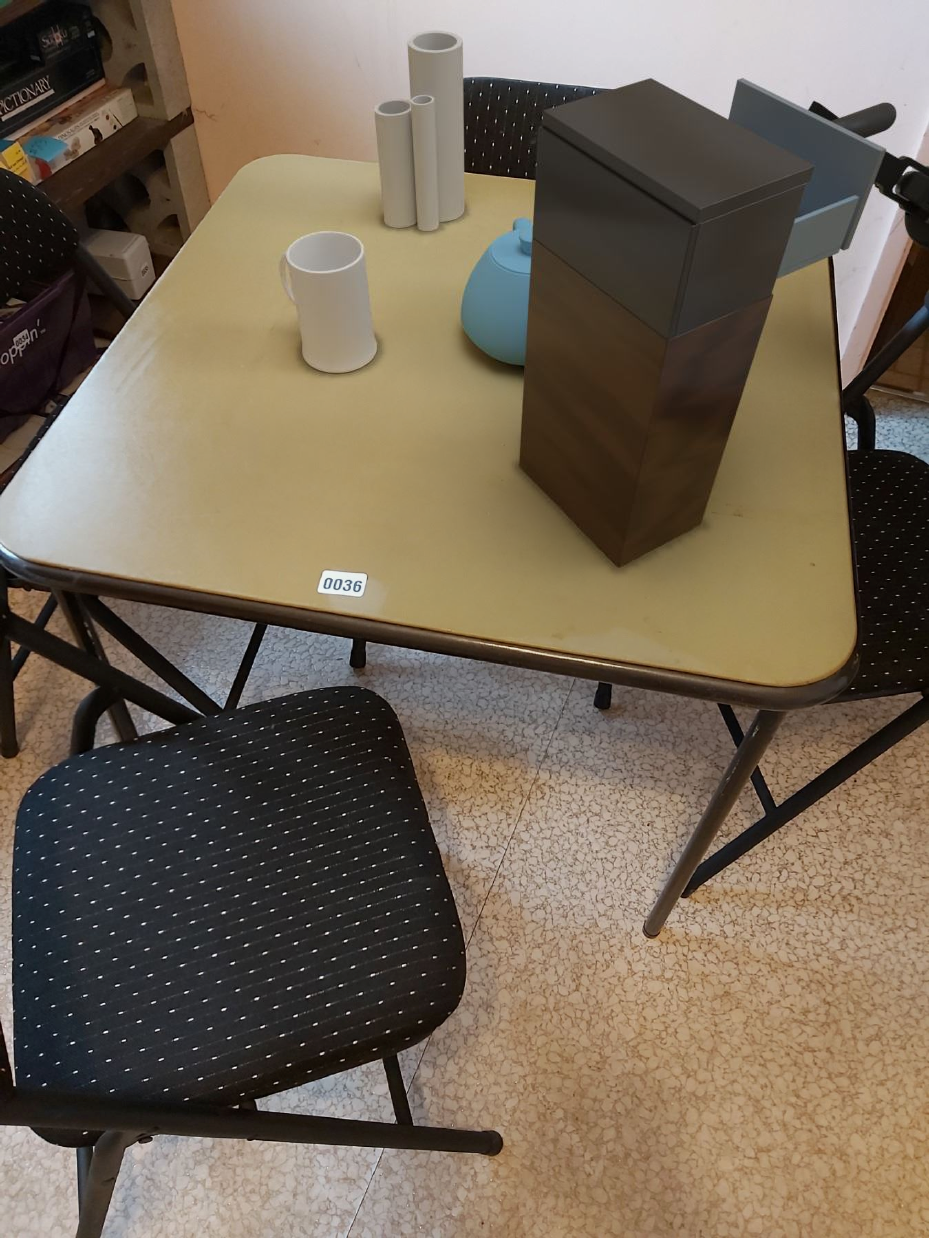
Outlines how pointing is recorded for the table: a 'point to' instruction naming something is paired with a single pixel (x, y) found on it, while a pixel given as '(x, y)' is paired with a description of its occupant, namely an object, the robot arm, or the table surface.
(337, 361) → the mug
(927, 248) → the robot arm
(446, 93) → the vase
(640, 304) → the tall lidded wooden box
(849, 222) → the top drawer
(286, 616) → the table surface
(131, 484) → the table surface
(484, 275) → the teapot
